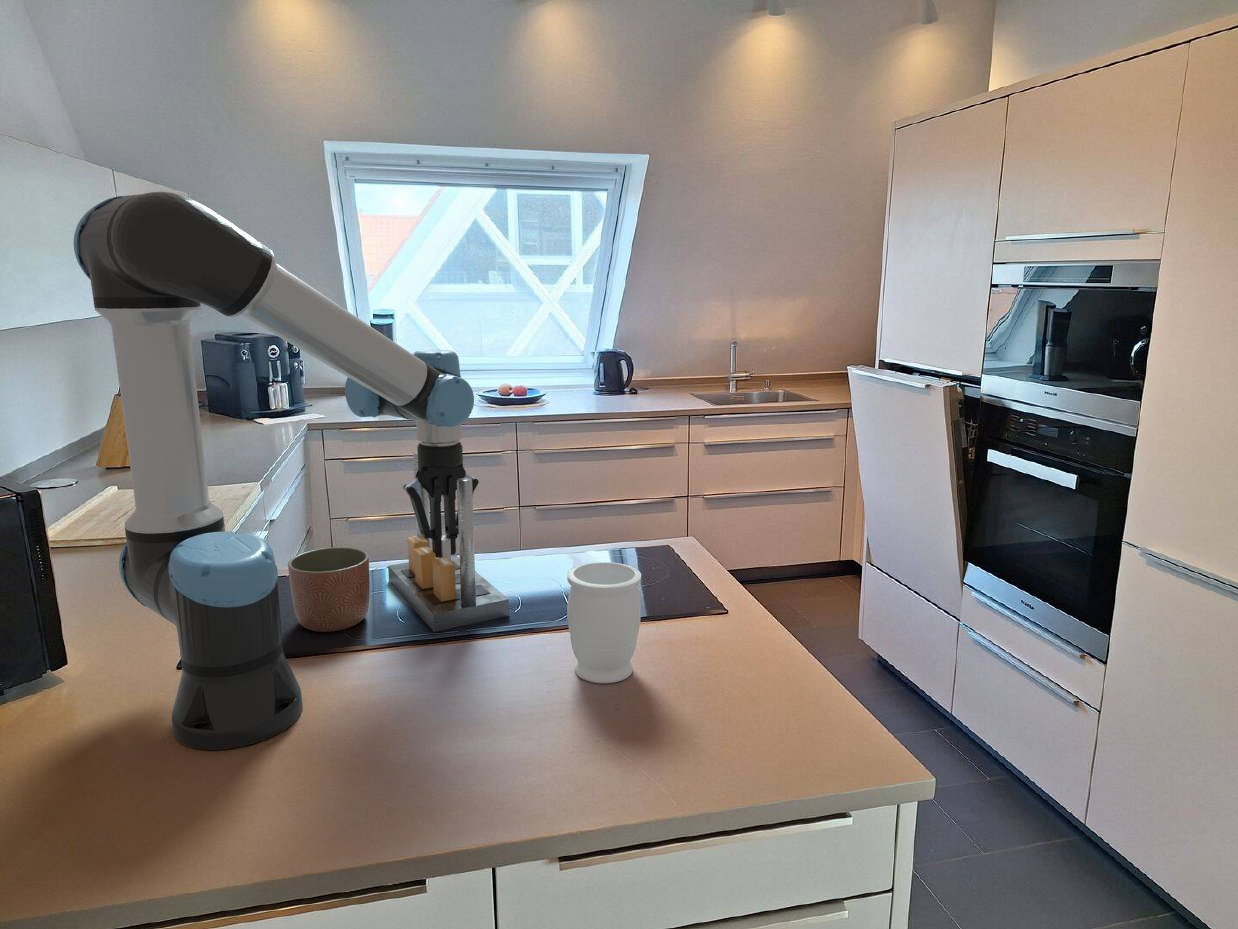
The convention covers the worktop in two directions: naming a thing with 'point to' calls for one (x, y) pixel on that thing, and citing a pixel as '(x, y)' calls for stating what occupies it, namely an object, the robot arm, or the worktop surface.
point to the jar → (603, 619)
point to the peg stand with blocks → (471, 589)
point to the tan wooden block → (413, 544)
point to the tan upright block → (424, 567)
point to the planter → (330, 588)
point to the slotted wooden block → (444, 579)
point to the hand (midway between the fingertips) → (445, 572)
